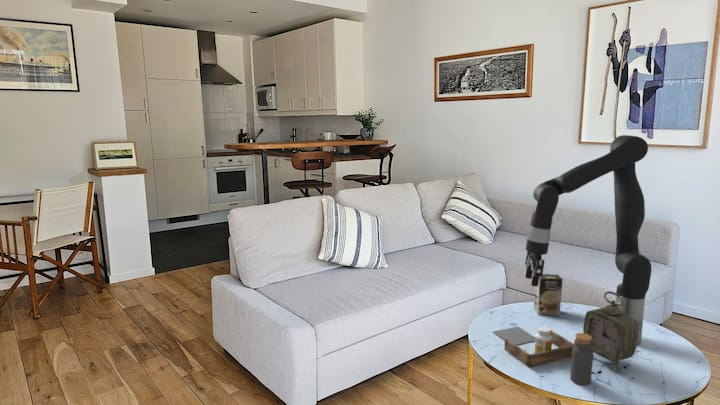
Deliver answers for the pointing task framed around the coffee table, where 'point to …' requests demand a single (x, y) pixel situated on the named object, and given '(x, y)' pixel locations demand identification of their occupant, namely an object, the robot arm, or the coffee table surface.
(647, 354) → the coffee table surface
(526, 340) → the rubber mat
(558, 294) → the coffee box
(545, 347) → the supplement bottle
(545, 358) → the walnut u-shaped bay
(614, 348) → the tabletop clock
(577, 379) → the bottle
